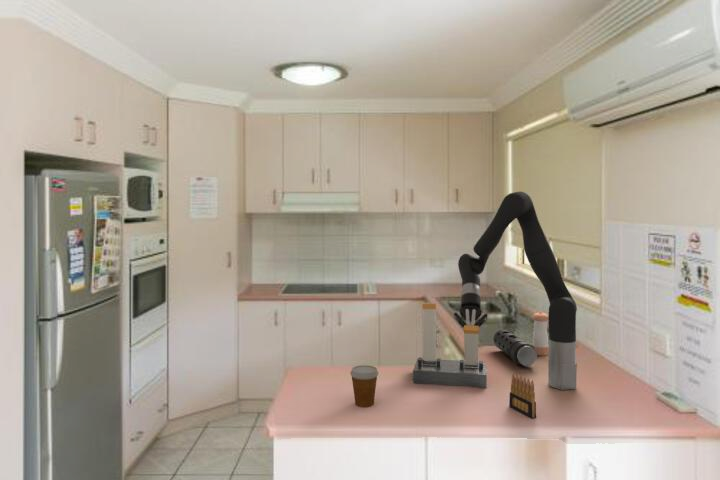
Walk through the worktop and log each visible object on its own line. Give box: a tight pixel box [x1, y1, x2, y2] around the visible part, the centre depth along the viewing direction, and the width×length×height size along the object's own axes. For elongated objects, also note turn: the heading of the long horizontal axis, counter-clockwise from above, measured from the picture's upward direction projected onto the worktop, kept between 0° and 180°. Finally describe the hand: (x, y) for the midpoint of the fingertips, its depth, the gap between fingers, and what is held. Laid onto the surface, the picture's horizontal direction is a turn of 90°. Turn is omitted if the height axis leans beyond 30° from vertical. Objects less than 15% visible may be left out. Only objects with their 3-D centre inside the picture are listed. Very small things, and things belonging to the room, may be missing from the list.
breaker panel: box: [412, 356, 488, 389], centre depth 199 cm, size 16×27×7 cm, turn 77°
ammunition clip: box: [508, 371, 537, 420], centre depth 166 cm, size 11×2×12 cm, turn 23°
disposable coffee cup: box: [350, 364, 379, 408], centre depth 174 cm, size 10×10×12 cm
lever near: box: [463, 324, 480, 367], centre depth 189 cm, size 2×5×24 cm
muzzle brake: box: [493, 329, 538, 367], centre depth 223 cm, size 10×28×10 cm, turn 5°
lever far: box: [422, 302, 437, 365], centre depth 200 cm, size 2×5×24 cm, turn 77°
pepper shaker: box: [531, 310, 549, 356], centre depth 232 cm, size 7×7×19 cm
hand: (470, 336), depth 188 cm, fingers closed
